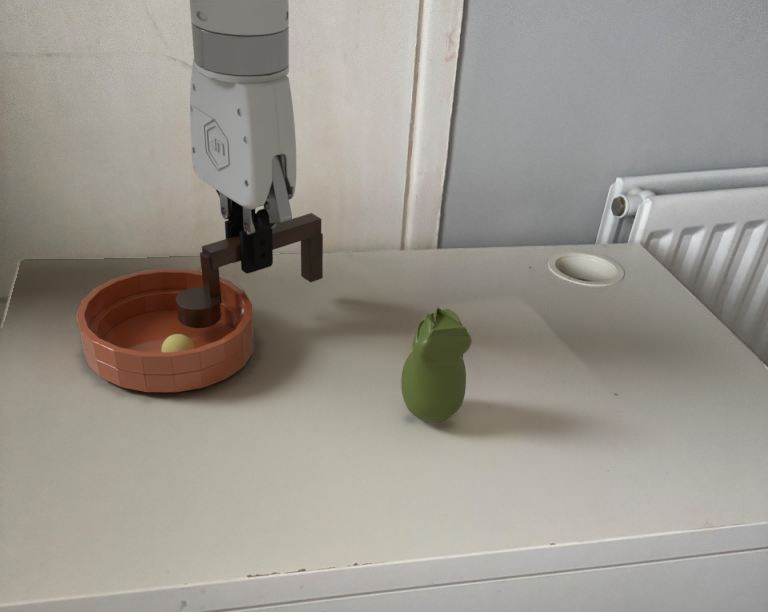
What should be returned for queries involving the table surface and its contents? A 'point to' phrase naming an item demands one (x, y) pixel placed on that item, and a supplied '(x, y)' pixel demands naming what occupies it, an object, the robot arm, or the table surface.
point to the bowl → (162, 332)
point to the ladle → (204, 302)
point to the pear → (436, 367)
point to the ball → (177, 343)
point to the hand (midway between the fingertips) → (250, 262)
